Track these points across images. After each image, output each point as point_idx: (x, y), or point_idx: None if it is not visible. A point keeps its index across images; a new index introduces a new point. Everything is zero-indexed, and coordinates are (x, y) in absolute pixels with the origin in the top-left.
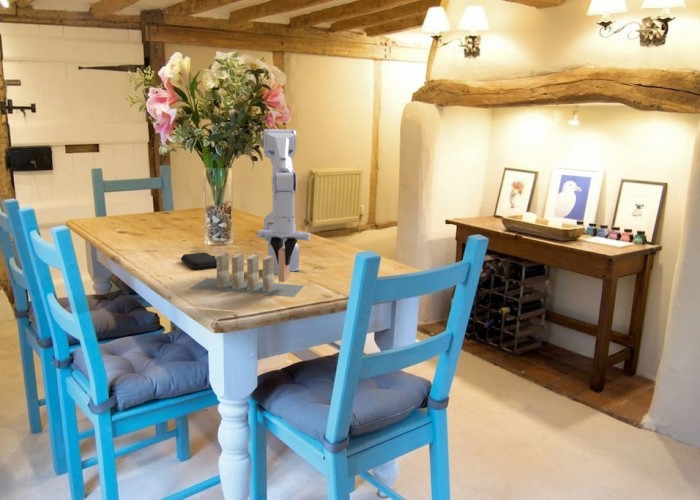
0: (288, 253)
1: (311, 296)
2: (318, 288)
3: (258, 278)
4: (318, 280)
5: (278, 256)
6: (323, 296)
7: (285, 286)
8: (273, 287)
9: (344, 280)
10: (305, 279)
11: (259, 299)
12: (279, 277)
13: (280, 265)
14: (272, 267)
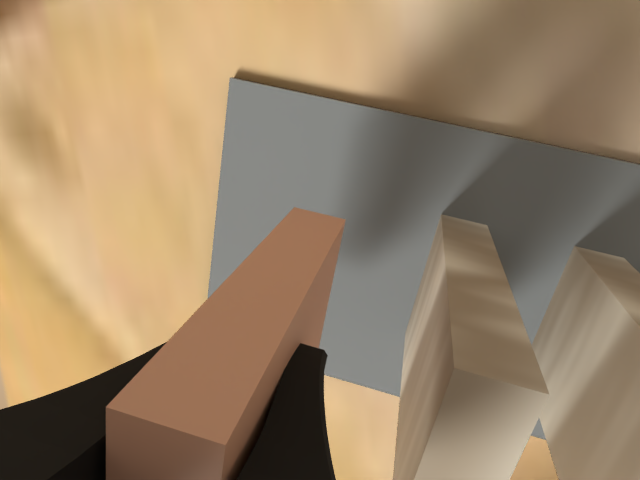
0: (88, 388)
1: (123, 125)
2: (117, 299)
3: None
4: None
5: (286, 405)
6: (51, 130)
7: None
8: (405, 306)
9: None
10: None
11: (514, 7)
12: (328, 230)
13: (283, 282)
14: (406, 414)
